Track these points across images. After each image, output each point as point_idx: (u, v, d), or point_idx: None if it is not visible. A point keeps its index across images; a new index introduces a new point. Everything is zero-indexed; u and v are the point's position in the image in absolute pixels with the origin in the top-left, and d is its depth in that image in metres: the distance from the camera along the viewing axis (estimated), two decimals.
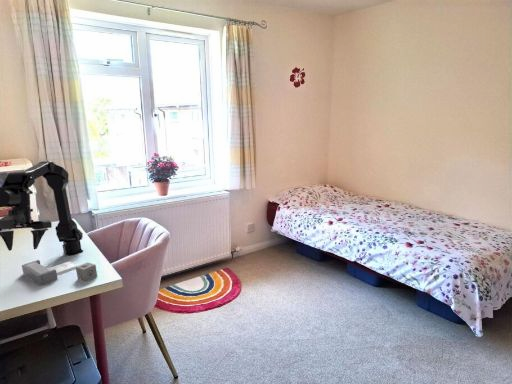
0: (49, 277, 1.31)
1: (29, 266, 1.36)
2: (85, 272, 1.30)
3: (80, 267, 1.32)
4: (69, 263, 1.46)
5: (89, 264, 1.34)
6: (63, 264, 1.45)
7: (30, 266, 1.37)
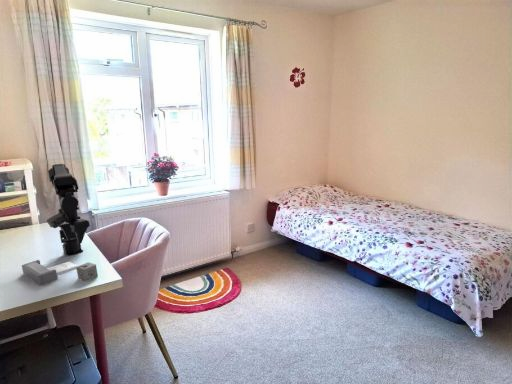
0: (49, 277, 1.31)
1: (29, 266, 1.36)
2: (86, 272, 1.30)
3: (81, 267, 1.32)
4: (69, 263, 1.46)
5: (90, 264, 1.34)
6: (63, 264, 1.45)
7: (30, 266, 1.37)
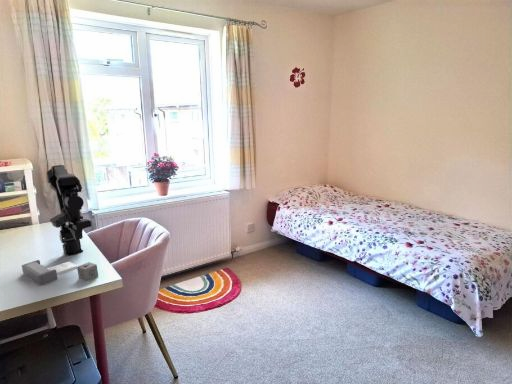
0: (49, 277, 1.31)
1: (29, 266, 1.36)
2: (86, 272, 1.30)
3: (81, 267, 1.32)
4: (69, 263, 1.46)
5: (90, 264, 1.34)
6: (63, 264, 1.45)
7: (30, 266, 1.37)
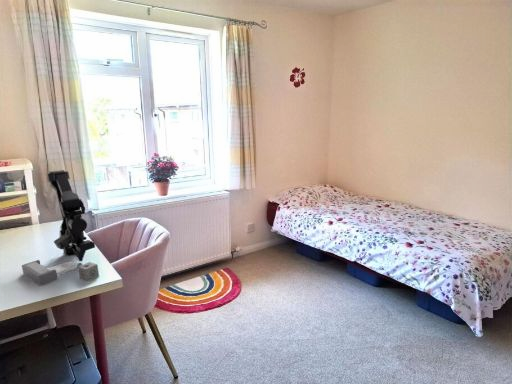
0: (49, 277, 1.31)
1: (29, 266, 1.36)
2: (87, 272, 1.31)
3: (82, 267, 1.32)
4: (69, 263, 1.45)
5: (91, 264, 1.34)
6: (63, 264, 1.45)
7: (30, 266, 1.37)
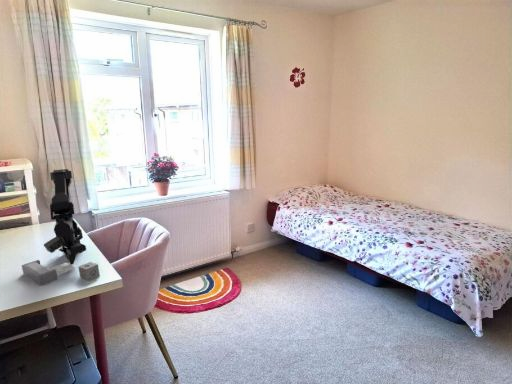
0: (49, 277, 1.31)
1: (29, 266, 1.36)
2: (87, 272, 1.31)
3: (83, 266, 1.32)
4: (66, 264, 1.45)
5: (92, 264, 1.34)
6: (60, 265, 1.44)
7: (30, 266, 1.37)
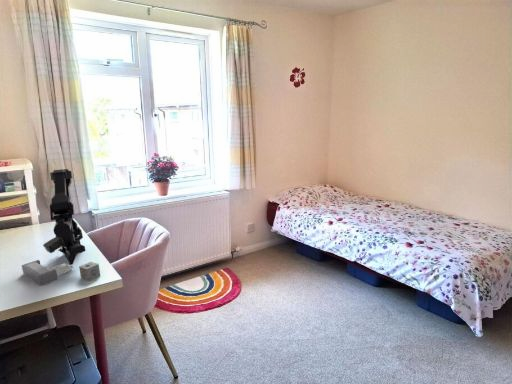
0: (49, 277, 1.31)
1: (29, 266, 1.36)
2: (88, 271, 1.31)
3: (83, 266, 1.32)
4: (64, 265, 1.44)
5: (92, 263, 1.34)
6: (57, 266, 1.43)
7: (30, 266, 1.37)
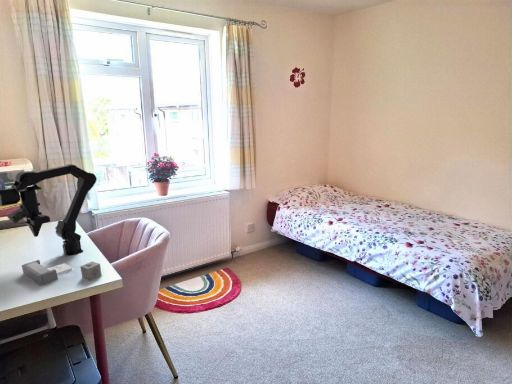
0: (49, 277, 1.31)
1: (29, 266, 1.36)
2: (89, 271, 1.31)
3: (85, 266, 1.32)
4: (64, 265, 1.44)
5: (93, 263, 1.35)
6: (58, 266, 1.43)
7: (30, 266, 1.37)
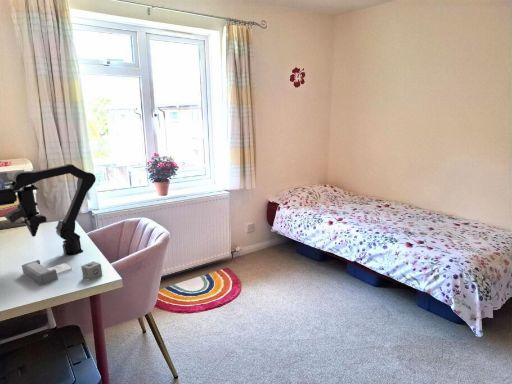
0: (49, 277, 1.31)
1: (29, 266, 1.36)
2: (90, 271, 1.31)
3: (85, 266, 1.32)
4: (64, 265, 1.44)
5: (94, 263, 1.35)
6: (58, 266, 1.43)
7: (30, 266, 1.37)
